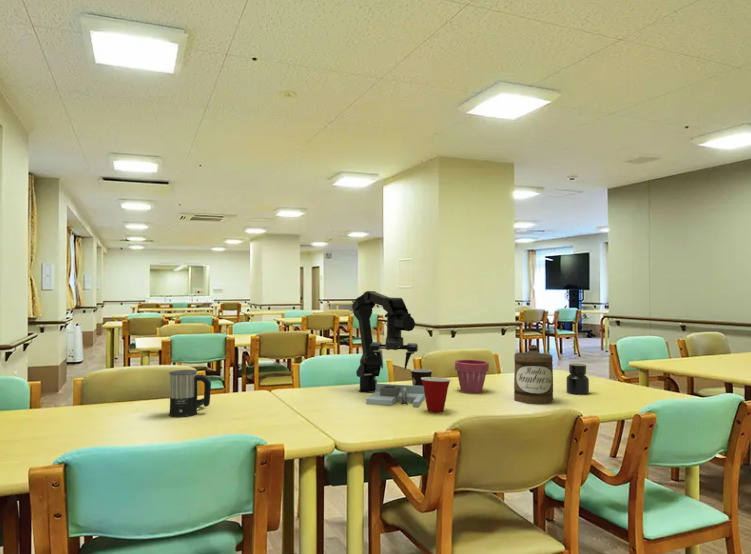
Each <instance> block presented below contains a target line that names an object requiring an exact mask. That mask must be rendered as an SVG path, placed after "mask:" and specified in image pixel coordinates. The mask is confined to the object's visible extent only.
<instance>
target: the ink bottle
mask: <svg viewBox="0 0 751 554" xmlns="http://www.w3.org/2000/svg"><path fill="white" fill-rule="evenodd" d="M568 371H569V372H568V373H569V374H568V375H567V376H566V392H567V394H568V393H569V394H571V395H572V394H573V395H578V394H581V396H582V394H584V395H588V394H589V393H590V379H589V377H588V376H587V375H586V374H587V365H586V364H583V363H569V364H568Z"/></svg>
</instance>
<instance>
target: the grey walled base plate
mask: <svg viewBox="0 0 751 554" xmlns="http://www.w3.org/2000/svg"><path fill="white" fill-rule="evenodd" d="M384 385H389V386H400V394H399V395H398V396H397V397H392V396H380V388H381V387H382V386H384ZM402 388H407V403H412V407H413V408H419V407H420V406H421V405H422V403H423V402H424V401H425V393H424V387H423V386H413V384H412V385H410V384H409V385H408V384H395V383H394V384H393V383H377V384H376V391H374V392H372V394H370V395H369V396H368V397H367V398H366V399H365V400H366V401H365V404H366V405H373V404H376V406H378V405H379V406H389V405H392V406H393V405H394V404H395V403H396V402H400V401H402ZM420 404H421V405H420Z"/></svg>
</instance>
